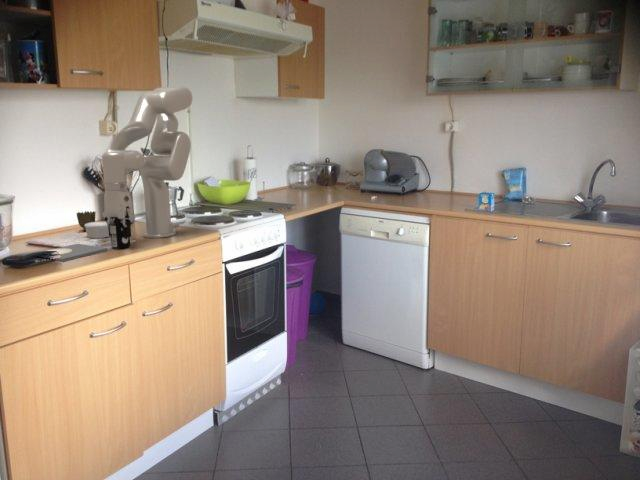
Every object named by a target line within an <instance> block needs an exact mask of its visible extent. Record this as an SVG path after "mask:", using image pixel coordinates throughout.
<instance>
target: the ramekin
mask: <svg viewBox="0 0 640 480" xmlns="http://www.w3.org/2000/svg"><path fill="white" fill-rule="evenodd" d="M84 226H85V228H86V235H87V237H88V238H89V237H90V239H106V238H105V237H107V238H111V236H109V229H108V225H107V222H106V221H105V220H104V221H95V222H91V223H87V224H85V225H84Z"/></svg>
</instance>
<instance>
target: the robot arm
mask: <svg viewBox="0 0 640 480" xmlns="http://www.w3.org/2000/svg"><path fill="white" fill-rule="evenodd" d="M192 102H193V94H192V91H191V90H190V89H189V88H188V87H187V86H186V87H185V86H161V87H157V88H154V89H153V90H150V91H144V92H142V93H141V94H140V95H139V96H138V99H137V101H136V104H135V107H134V109H133V112H132V115H131V117H130V119H129V122H128V123H127V125H125V126H124V127H123V128H122V129H120V131H118V132H117V133H116V134H114V136H113V137H112V138H111V140H110V142H109V144H108V147H107V150H106V152H104V153H102V158H101V160H102V170H103V171H102V172H103V179H104V181H103V182H104V198H103V204H104V205H103V206H104V208H103V209H104V210H103V212H102V213H101V216H102V217H103V219H104V221H106V222H107V225H108V229H109V236H110V225H109V219H110V216H117V217H118V219H121V220H122V223H123V226H124V227H123V238H128V237H130V238H131V237H132V229H131V228H132V226H133V223H134V221H135V219H136V215H135V214H134V209H133V202H132V196H131V194H130V193H131V192H130V191H129V190H128V187H129V186H128V182H127V181H128V180H127V179H128V178H127V177H128V176H127V172H139V173H140V177H141V182H142V186H143V187H142V188H143V196H144V197H143V198H144V210H145V211H144V212H145V222H146V223H145V226H146V231H144V232H142V236H143V237H144V238H150V239H158V238H160V239H161V238H162V239H163V238H169V237H173V236H175V235H176V230H174V229H175V228H179V227H180V223H179V222H178V221H177V222H174V223H173V222H172V221H171V207H170V206H171V205H170V202H171V201H170V191H169V188H168V185H167V184H166V182H165V181H167V182H169V181H171V182H172V181H174V182H175V181H179V180H180V179H182V177H183V176H184V174H185V170H186V166H187V163H188V159H189V158H190V157H189V156H190V154H191V153H190V152H191V148H192V144H191V138H190V136H189V135H188V134H187V133H186V132H183V131H179V120H178V118H177V117H176V115H175V113H178V112H180V111H181V112H182V111H184V110H187V109H189V107H191V105H192ZM154 126H155V127H154ZM153 129H154V130H153ZM151 134H152V138H151V141H150V146H149V147H150V150H151V152H152V153H153V154H155V155H148V156H144V154H143V153H141V151H138V150H132V149H130V150H126V149H127V148H128V147H129V146H131V145H132V144H133V143H136V142H137V141H139V140H142V139H144V138H146V137H148V136H150V135H151ZM125 217H126V218H125ZM125 220H127V222H126V221H125Z"/></svg>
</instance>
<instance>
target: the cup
mask: <svg viewBox="0 0 640 480" xmlns="http://www.w3.org/2000/svg"><path fill="white" fill-rule="evenodd" d="M96 215H97V214H96V211H88V210H87V211H86V210H85V211H84V212H83V211H81V212H80V211H78V212H76V218H77V222H78V226H79V227H81V228H82V231H83V232H86V228H85V226H84V225H85V224H87V223H91V222H96ZM86 233H87V232H86Z"/></svg>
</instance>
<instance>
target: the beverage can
mask: <svg viewBox="0 0 640 480" xmlns="http://www.w3.org/2000/svg"><path fill="white" fill-rule="evenodd" d="M125 218H126V217H125ZM125 221H126V222H127V220H125ZM109 225H110V236H111V237H110V246H111V248H113V250H123V249H128V248H130V246H131V237H128V238H123V227H124V226H123V223H122V220H121V219H118V217H117V216H110V219H109Z"/></svg>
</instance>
